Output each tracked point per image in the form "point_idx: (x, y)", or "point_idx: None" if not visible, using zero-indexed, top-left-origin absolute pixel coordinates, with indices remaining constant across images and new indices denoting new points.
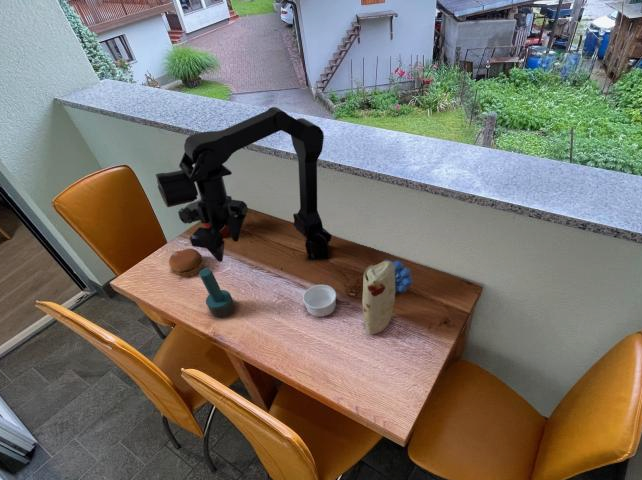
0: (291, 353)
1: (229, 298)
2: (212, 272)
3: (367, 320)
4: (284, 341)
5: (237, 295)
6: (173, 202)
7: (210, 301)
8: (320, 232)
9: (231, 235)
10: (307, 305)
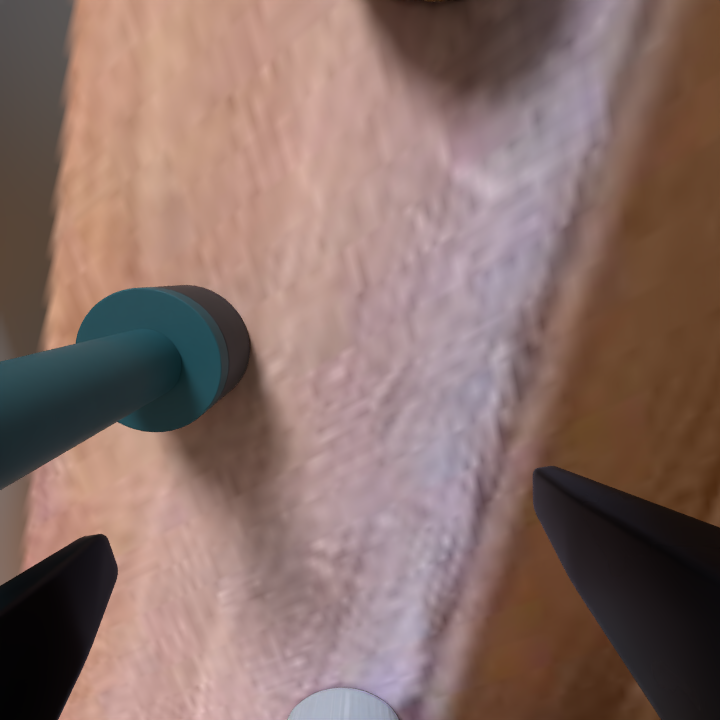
0: (95, 706)
1: (172, 426)
2: (10, 479)
3: None
4: (132, 666)
5: (299, 361)
6: None
7: (108, 332)
8: None
9: (586, 509)
10: None
